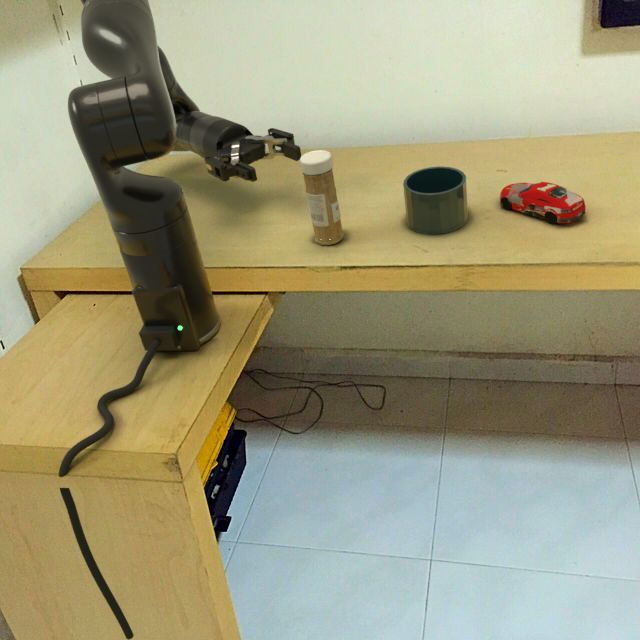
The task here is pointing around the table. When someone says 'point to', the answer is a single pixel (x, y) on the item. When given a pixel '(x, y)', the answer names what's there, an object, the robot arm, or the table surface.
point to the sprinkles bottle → (322, 196)
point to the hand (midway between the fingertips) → (277, 164)
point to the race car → (543, 201)
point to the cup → (436, 200)
